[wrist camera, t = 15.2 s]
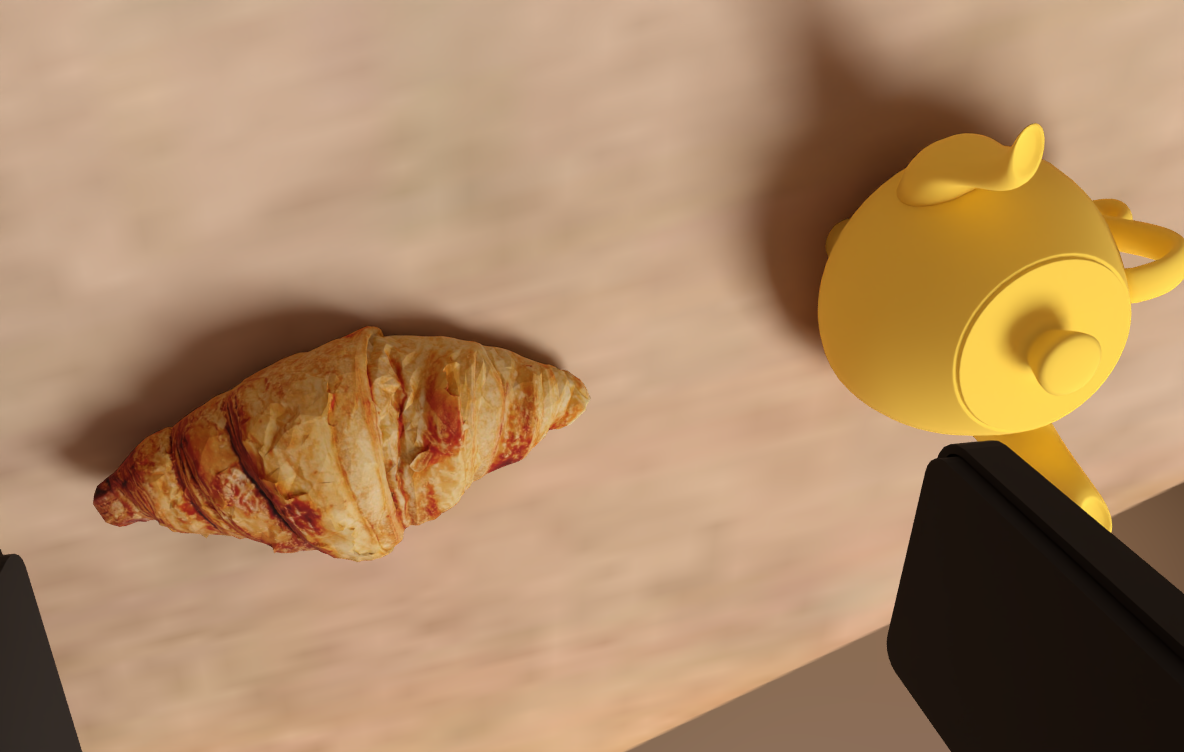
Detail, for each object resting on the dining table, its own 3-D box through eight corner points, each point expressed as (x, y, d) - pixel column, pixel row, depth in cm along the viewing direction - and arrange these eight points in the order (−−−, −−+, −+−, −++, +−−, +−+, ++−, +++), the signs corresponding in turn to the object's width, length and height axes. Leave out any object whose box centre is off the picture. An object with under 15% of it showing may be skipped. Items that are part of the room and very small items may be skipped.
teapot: (1094, 345, 50) (1278, 456, 40) (849, 471, 50) (972, 613, 40) (1034, -18, 40) (1259, 11, 30) (728, 141, 40) (852, 221, 30)
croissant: (554, 291, 45) (577, 270, 37) (602, 491, 45) (635, 512, 38) (103, 394, 42) (23, 395, 34) (157, 608, 42) (90, 659, 34)
